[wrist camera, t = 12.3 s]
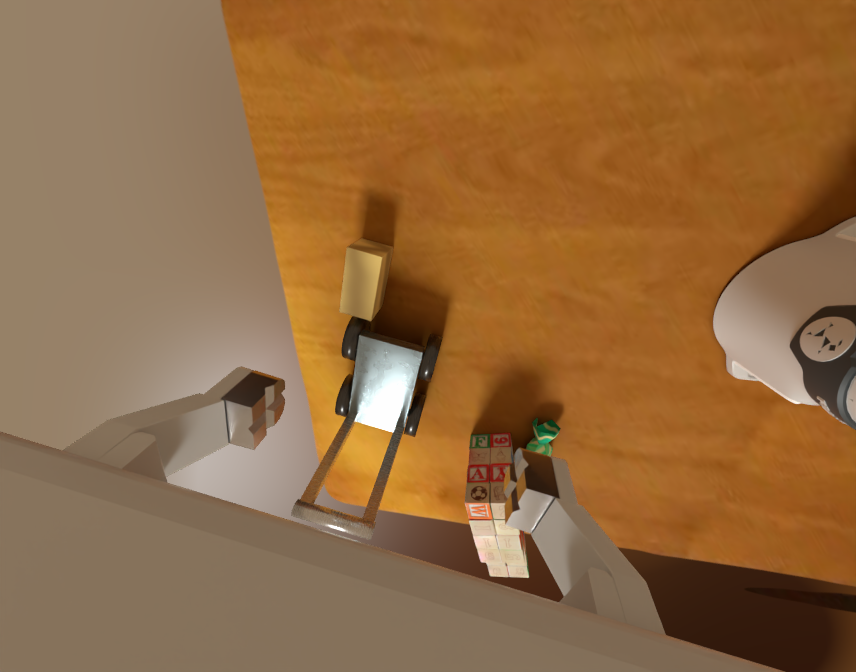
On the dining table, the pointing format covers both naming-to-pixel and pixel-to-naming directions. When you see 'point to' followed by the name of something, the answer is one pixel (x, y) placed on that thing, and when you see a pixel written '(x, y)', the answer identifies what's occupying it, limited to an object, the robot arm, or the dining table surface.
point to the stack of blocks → (493, 506)
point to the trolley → (372, 413)
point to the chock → (365, 278)
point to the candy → (543, 437)
